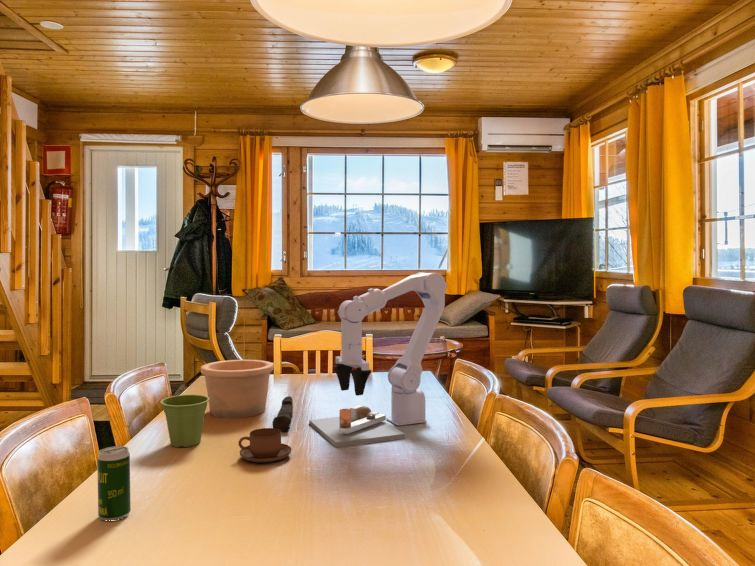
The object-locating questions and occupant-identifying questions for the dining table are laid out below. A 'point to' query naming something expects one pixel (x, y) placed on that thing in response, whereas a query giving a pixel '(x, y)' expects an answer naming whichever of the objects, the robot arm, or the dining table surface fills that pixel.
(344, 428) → the lever
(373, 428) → the flat white platform
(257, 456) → the cup and saucer
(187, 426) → the plant pot
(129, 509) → the beer can
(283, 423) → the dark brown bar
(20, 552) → the dining table surface
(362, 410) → the brown sphere
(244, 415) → the pottery
